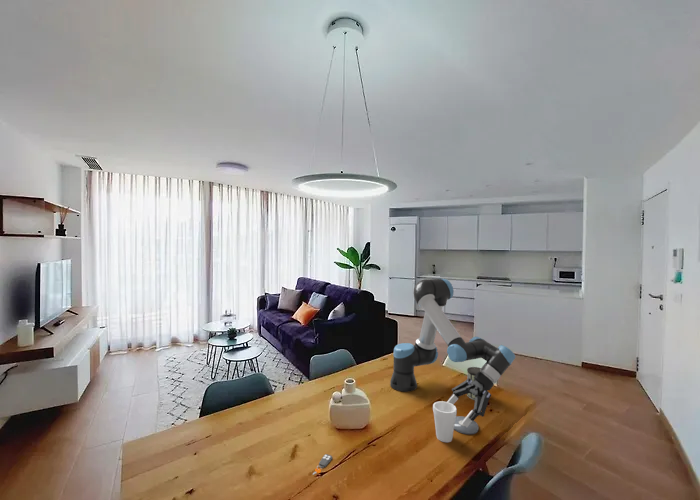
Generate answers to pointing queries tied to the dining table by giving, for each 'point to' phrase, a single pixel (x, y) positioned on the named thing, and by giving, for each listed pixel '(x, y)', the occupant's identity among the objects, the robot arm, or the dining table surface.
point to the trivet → (463, 429)
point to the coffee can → (472, 378)
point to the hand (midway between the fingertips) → (454, 416)
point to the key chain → (323, 463)
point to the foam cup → (444, 420)
